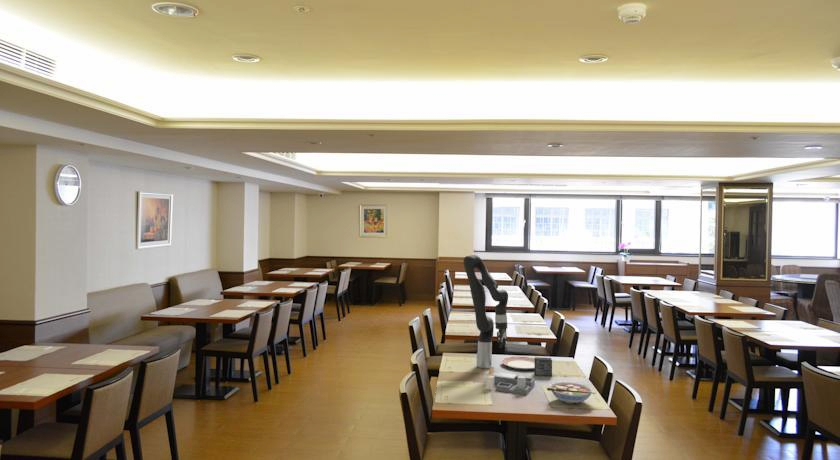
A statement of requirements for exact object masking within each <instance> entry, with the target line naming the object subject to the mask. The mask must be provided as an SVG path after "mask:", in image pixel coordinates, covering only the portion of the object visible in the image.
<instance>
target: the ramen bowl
mask: <svg viewBox="0 0 840 460" xmlns="http://www.w3.org/2000/svg"><path fill="white" fill-rule="evenodd" d="M546 389H547V390H546V391H551V393H552V394H553V396H554V397H555V398H556V399H558V400H560V401H561V402H564V403H566V402H567V403H566V404H569V403H576V404H578V403H582V402H584V401H587V399H588V398H589V397H590V396H591V395H592V394H593V395H594V394H597V393H596V392H593V391H594V390H593V389H592V388H591V387H590V386H587V384H586V385H585V384H583V383H577V382H570V381H558V382H553V383H550V384H549V387H547V388H546Z"/></svg>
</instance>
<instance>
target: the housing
mask: <svg viewBox="0 0 840 460" xmlns="http://www.w3.org/2000/svg"><path fill="white" fill-rule="evenodd" d="M486 377H487V375H486V376H485V378H486ZM494 385H496V386H495V391H496V392H497V391H498V392H505V393H511V394H518V395H524V396H527V395H528V394H529V393H530V392H531V391H532V389H533V388H534V386H535V378H531V377H527V376H525V375H524V376H522V375H519V376H518V375H517V377H516V378H515V379H507V378H500V377H495V382H494Z"/></svg>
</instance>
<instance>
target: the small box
mask: <svg viewBox="0 0 840 460" xmlns="http://www.w3.org/2000/svg"><path fill="white" fill-rule="evenodd" d="M534 358H535V369H533V370H534V371H533V373H534V376H535V377H536V376H538V377H552V376H553V359H552V358H551V357H538V356H535V357H534Z"/></svg>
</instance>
